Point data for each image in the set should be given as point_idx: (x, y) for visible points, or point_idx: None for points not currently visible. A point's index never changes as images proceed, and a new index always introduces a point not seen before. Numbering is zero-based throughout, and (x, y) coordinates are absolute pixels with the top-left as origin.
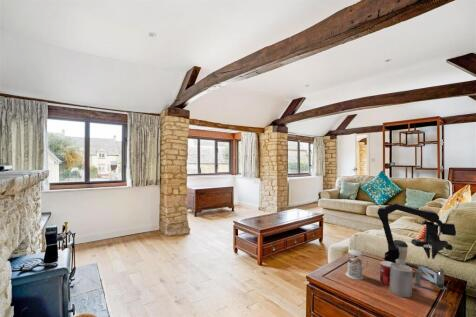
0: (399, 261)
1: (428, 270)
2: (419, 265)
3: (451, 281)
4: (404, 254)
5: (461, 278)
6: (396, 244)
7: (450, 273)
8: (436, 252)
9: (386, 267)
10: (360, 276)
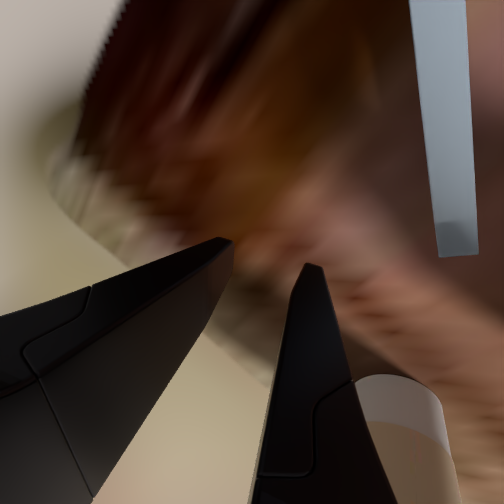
0: (428, 412)
1: (467, 55)
2: (463, 244)
3: (159, 98)
4: (386, 473)
5: (65, 166)
6: None
7: (105, 237)
8: (34, 328)
9: None
10: None
